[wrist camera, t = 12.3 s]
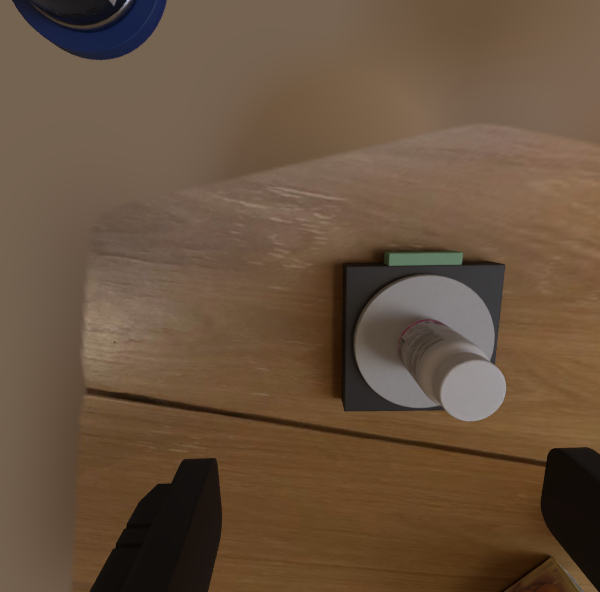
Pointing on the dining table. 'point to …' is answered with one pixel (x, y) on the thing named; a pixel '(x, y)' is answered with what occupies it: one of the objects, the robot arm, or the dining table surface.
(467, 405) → the pill bottle
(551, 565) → the candy box
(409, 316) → the scale
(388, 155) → the dining table surface
